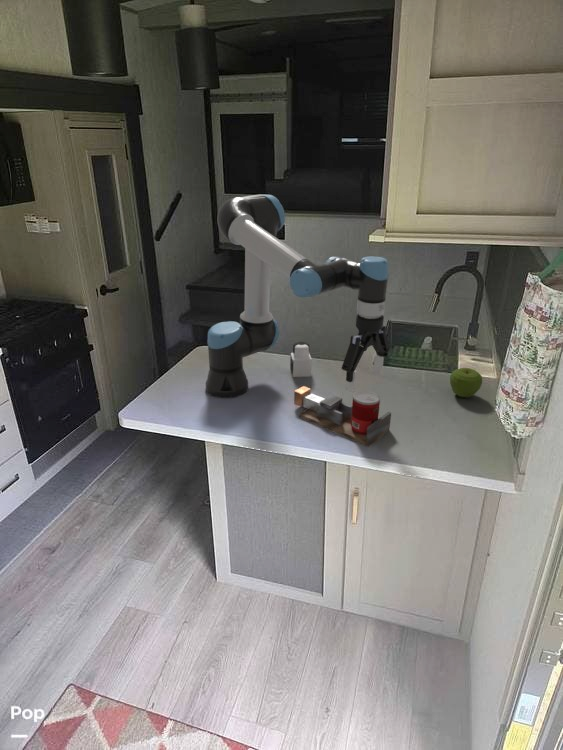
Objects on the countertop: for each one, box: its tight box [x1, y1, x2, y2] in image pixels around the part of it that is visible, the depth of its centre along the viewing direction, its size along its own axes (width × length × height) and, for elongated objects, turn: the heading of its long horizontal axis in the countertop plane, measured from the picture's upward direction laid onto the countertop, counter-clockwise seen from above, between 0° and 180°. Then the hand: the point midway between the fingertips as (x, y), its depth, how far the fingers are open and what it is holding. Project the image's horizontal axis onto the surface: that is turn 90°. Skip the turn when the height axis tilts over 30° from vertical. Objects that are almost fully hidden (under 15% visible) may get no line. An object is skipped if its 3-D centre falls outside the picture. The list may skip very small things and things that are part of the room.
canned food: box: [351, 390, 381, 435], centre depth 155 cm, size 8×8×11 cm
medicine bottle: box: [289, 341, 313, 378], centre depth 193 cm, size 7×7×12 cm
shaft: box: [293, 385, 340, 412], centre depth 167 cm, size 15×5×5 cm, turn 50°
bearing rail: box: [298, 394, 392, 447], centre depth 161 cm, size 26×12×7 cm, turn 50°
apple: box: [449, 367, 483, 398], centre depth 178 cm, size 11×10×10 cm
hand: (364, 382), depth 152 cm, fingers open, 13 cm apart
